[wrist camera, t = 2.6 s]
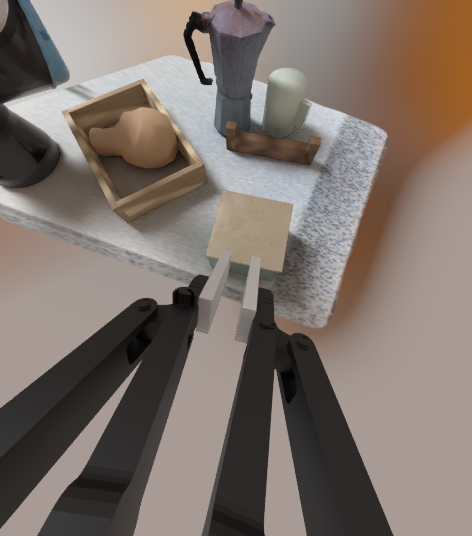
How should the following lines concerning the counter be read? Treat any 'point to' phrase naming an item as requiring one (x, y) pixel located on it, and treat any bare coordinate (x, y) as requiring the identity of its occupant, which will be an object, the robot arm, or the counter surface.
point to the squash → (138, 139)
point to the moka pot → (231, 56)
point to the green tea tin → (250, 233)
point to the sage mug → (285, 103)
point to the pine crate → (109, 111)
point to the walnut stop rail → (271, 145)
